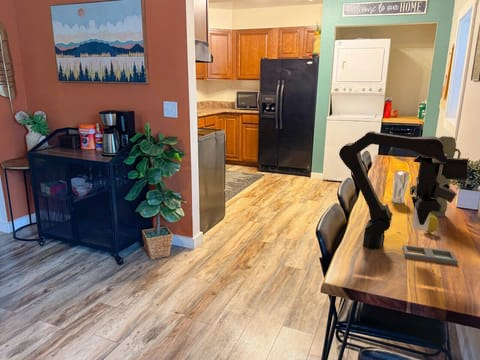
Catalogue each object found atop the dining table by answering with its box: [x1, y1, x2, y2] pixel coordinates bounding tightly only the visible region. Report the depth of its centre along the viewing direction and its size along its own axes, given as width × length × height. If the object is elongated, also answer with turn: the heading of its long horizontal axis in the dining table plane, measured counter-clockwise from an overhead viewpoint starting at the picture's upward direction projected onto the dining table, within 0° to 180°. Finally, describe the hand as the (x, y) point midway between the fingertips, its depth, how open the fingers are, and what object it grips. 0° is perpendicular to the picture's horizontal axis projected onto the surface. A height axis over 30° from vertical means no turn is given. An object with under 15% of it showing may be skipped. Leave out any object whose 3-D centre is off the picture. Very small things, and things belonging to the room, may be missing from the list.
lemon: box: [425, 214, 439, 234], centre depth 138 cm, size 6×6×8 cm
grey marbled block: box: [391, 170, 410, 205], centre depth 175 cm, size 7×7×15 cm
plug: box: [411, 207, 431, 232], centre depth 116 cm, size 4×4×9 cm
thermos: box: [430, 135, 462, 219], centre depth 156 cm, size 9×12×35 cm
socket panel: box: [401, 244, 459, 266], centre depth 119 cm, size 16×7×2 cm, turn 73°
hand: (420, 222), depth 117 cm, fingers closed on plug, 4 cm apart
